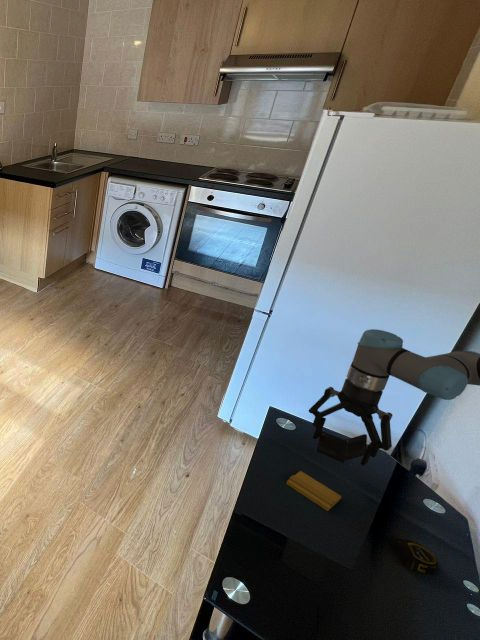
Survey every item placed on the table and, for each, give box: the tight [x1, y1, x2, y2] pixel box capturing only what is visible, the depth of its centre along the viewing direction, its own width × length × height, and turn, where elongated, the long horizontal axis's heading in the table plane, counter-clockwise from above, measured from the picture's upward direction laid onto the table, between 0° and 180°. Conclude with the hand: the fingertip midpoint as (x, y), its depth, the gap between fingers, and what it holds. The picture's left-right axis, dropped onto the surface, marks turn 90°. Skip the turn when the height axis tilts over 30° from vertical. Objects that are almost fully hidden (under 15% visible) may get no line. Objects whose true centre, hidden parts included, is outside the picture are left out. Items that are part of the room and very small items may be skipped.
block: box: [285, 470, 343, 512], centre depth 116 cm, size 10×8×2 cm
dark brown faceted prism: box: [316, 430, 368, 464], centre depth 115 cm, size 12×7×10 cm
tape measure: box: [390, 538, 439, 575], centre depth 97 cm, size 7×7×4 cm
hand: (339, 449), depth 116 cm, fingers closed on dark brown faceted prism, 10 cm apart
